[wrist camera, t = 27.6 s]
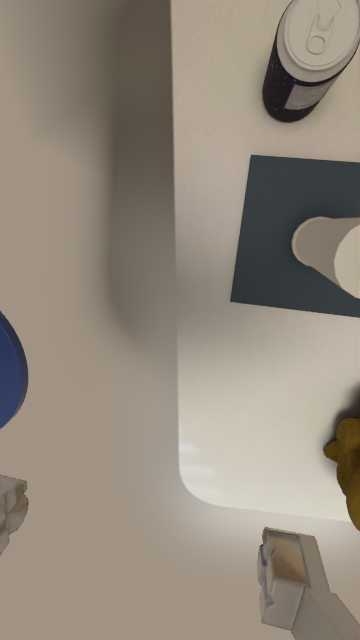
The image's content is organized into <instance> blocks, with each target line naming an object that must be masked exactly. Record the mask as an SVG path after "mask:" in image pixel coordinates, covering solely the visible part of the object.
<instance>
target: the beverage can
mask: <svg viewBox="0 0 360 640" xmlns="http://www.w3.org/2000/svg"><path fill="white" fill-rule="evenodd" d="M359 42H360V0H293V1H292V2H291V3H290V4H289V5H288V7H287V8H286V10H285V11H284V13H283V15H282V17H281V19H280V22H279V24H278V28H277V32H276V36H275V40H274V44H273V48H272V52H271V56H270V60H269V64H268V68H267V72H266V76H265V80H264V84H263V91H262V94H263V101H264V105H265V107H266V109H267V111H268V112H269V113H270V114H271V115H272V116H273V117H274V118H276V119H278V120H280V121H284V122H292V121H297V120H300V119H302V118H304V117H305V116H307V115H308V114H309V113H310V112H311V111H312V110H313V109H314V108H315V107H316V105H317V104H318V103H319V101H320V100H321V99H322V97H323V96H324V95H325V94H326V92H327V91H328V90H329V88H330V87H331V86H332V84H333V83H334V82H335V81H336V79H337V78H338V77H339V75H340V74H341V73H342V72H343V70H344V69H345V68H346V66H347V65H348V64H349V62H350V61H351V60H352V58H353V56H354V54H355V53H356V50H357V48H358V45H359Z"/></svg>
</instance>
